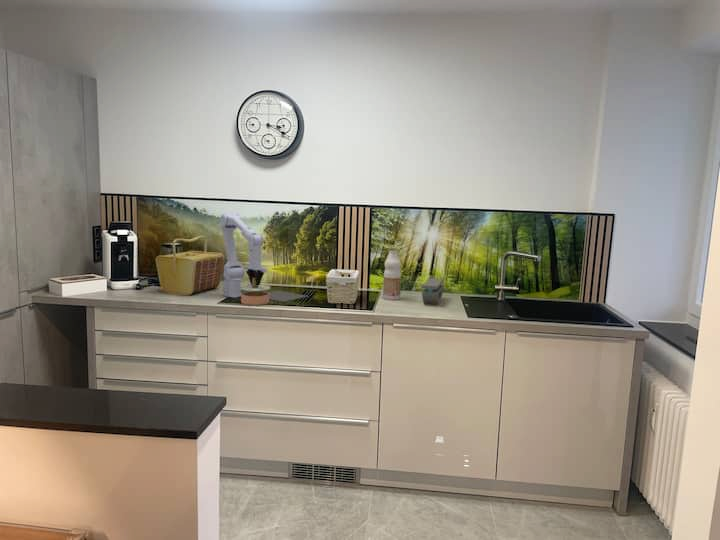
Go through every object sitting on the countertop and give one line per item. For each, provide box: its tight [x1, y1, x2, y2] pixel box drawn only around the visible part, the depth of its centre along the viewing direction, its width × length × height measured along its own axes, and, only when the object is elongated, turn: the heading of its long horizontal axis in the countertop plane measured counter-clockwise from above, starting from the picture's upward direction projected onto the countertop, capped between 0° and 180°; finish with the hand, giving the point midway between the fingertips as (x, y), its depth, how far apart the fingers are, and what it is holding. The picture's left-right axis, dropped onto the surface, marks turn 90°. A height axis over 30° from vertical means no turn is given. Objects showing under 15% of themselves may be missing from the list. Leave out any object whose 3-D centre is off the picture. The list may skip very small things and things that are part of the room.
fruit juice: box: [382, 247, 402, 301], centre depth 314 cm, size 9×9×28 cm
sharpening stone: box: [421, 277, 445, 306], centre depth 310 cm, size 25×8×11 cm, turn 164°
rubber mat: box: [268, 290, 309, 304], centre depth 311 cm, size 22×20×1 cm
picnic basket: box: [155, 235, 225, 296], centre depth 320 cm, size 29×26×30 cm
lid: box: [240, 277, 271, 292], centre depth 295 cm, size 15×15×6 cm
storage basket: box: [325, 268, 360, 305], centre depth 309 cm, size 24×16×15 cm
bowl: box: [240, 291, 270, 306], centre depth 296 cm, size 14×14×4 cm
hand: (255, 284), depth 295 cm, fingers closed on lid, 3 cm apart
